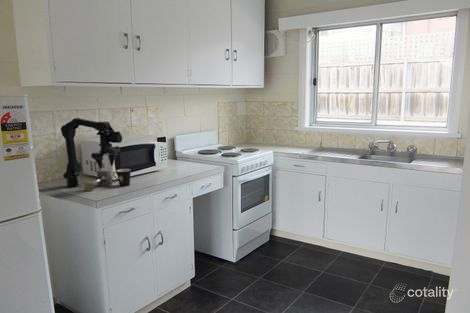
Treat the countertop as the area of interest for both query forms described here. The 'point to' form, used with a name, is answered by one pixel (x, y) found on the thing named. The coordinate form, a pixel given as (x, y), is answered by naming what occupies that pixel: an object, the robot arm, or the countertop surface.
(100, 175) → the collar
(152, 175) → the countertop surface
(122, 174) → the coffee mug
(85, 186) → the metal shaft
